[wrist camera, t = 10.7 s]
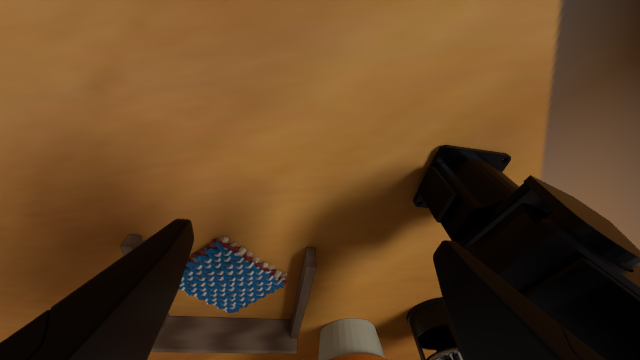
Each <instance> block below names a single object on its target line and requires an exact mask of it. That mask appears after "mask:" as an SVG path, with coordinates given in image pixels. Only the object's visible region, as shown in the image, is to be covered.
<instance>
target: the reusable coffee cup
mask: <svg viewBox="0 0 640 360" xmlns="http://www.w3.org/2000/svg"><path fill="white" fill-rule="evenodd" d="M319 360H387V359H385V356H384V353H383V350H382V347H381V344H380V341H379V338H378V335H377V332H376V329H375V327H374V325H373V324H372V323H371V322H369V321H367V320H363V319H356V318H349V319H341V320H337V321H334V322H331V323H329V324H327V325H326V326H324V327H323V328H322V330H321V332H320V345H319Z"/></svg>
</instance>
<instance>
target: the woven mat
mask: <svg viewBox="0 0 640 360" xmlns="http://www.w3.org/2000/svg"><path fill="white" fill-rule="evenodd" d="M228 240H229V238H228V237H222V238H220V239H218V238H217V239H216V240H215V241H214V240H212V241H211V244H212V245H209V244H208V245H206V247H205V248H206V249H201V251H200V252H197V253H196V254H192V258H191V259H190V258H189V259H188V261H187V265H186V268H185V271H184V274H183V277H182V280H181V283H180V286H179V289H180V290H183V291H184V290H185V291H186V292H187V293H186V295H192V296H195V297H196V296H197V297H196V299H198V298H199V300H203V301H206V302H207V303H206V304H212V305H217V309H218V308H219V309H221V308H222V309H223V310H225V311H226V312H227V311H228V313H233V312H238V311H239V309H238V308H243V307H244V306H245V307H247V306H248V304H250V303H252V301H253V303H254V302H256V301H257V300H256V299H260V298H261V296H262V298H264V297H265V296H266V295H265V294H269V293H270V292H271V293H274V291H275V290H274V289H279V288H280V287H281V288H283V287H284V284H286V283H287V281H286V280H285V279H284V277H285V276H287V275H288V274H287V273H285V274H283V275H281V274H282V272H281V271H279V270H278V269H277V271H276V270H272V269H273V268H274V267H275V266H274V265H271V266H268V262H265V261H263V262H261V263H258V261H259V260H260V258H258V257H255V258H253V259H252V258H250V256H252V254H251V253H250V252H248V253H247V254H246V253H245V252H246V251H247V250H246V249H245V248H243V247H241V248H234V247H235V246H236V245H237V244H238V242H235V243H233V244H231V245H229V244H227V243H228ZM223 247H225V248H223ZM215 248H217V249H218V250H217V249H215ZM206 255H208V256H206ZM241 256H242V257H241ZM266 267H267V268H266ZM218 268H221V269H218ZM268 273H269V274H268ZM283 283H284V284H283ZM276 284H277V285H278V286H277V285H276ZM279 286H280V287H279ZM268 290H269V291H268ZM191 291H192V292H191ZM231 309H233V310H231Z"/></svg>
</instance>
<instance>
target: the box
mask: <svg viewBox="0 0 640 360" xmlns="http://www.w3.org/2000/svg"><path fill="white" fill-rule="evenodd" d="M141 243H143V242H142V239H141V236H140V235H129V236H128V237H127V238H126V240H125V241H124V242H123V243H122V245H121V246H120V247H121V249H122V252H123V254H124V255H126V254H127V253H129V252H130V251H132V250H133V249H134V248H136V247H137V246H139V245H140V244H141ZM315 271H316V248H311V247H307V248H306V252H305V257H304V262H303V267H302V271H301V276H300V281H299V286H298V290H297V295H296V300H295V305H294V310H293V314H292V319H291V320H282V319H248V318H215V317H182V316H169V314H167V316H166V318H165V321H164V323H163V325H162V327H161V329H160V332H159V334H158V336H157V338H156V341H155V343H154V345H153V347H152V350H151V352H189V353H281V354H297V345H298V335H299V331H300V328H301V324H302V320H303V316H304V312H305V309H306V305H307V301H308V297H309V293H310V290H311V286H312V282H313V278H314V274H315Z"/></svg>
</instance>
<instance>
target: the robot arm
mask: <svg viewBox="0 0 640 360" xmlns="http://www.w3.org/2000/svg"><path fill="white" fill-rule="evenodd" d="M445 150H447V151H446V152H445V153H443V152H444V151H445ZM510 160H511V157H510V156H509V155H508V154H506V153H500V152H493V151H486V150H479V149H471V148H464V147H457V146H450V145H444V146H442V147H440V148H439V150H438V152H437V154H436V156H435V158H434V160H433V162H432V164H431V166H430V168H429V169H428V171H427V173H426V175H425V177H424V179H423V181H422V183H421V185H420V187H419V189H418V192H417V194H416V196H415V198H414V200H413V203H414V204H415V206H417V207H425V208H429V210H430V211H431V213H432V215H433V216H434V218H435V220H436V221H437V222H439V223H441V224H442V226H443V227H444V229H445V231H446V232H447V234H448V235H449V237H450V239H451V240H452V241H447V240H444V241H442V242H441V244H440V245H439V247H438V248H437V250H436V251H435V253H434V255H433V261H434V265H435V269H436V273H437V277H438V281H439V285H440V289H441V293H442V296H443V300H444V303H445V306H446V308H447V311H448V314H449V317H450V320H451V322H452V325H453V328H454V331H455V333H456V336H457V339H458V342H459V345H460V347H461V350H462V353H463V356H464V358H465V360H640V250H639V249H638V248H636V246H635V245H634V244H633V243H632V242H631V241H630V240H629V239H627V237H626V236H625V235H623V234H622V233H621V232H620V231H619V230H618V229H617V228H616V227H615V226H614V225H613V224H612V223H611V222H610V221H609V220H607V219H606V218H604V217H602V216H601V215H600V214H598V213H597V212H595V211H594V210H592V209H591V208H589V207H588V206H586V205H585V204H583V203H582V202H580V201H579V200H577V199H576V198H574V197H573V196H571V195H569V194H567V193H565V192H563V191H561V190H559V189H557V188H555V187H553V186H551V185H549V184H547V183H545V182H543V181H541V180H539V179H537V178H535V177H533V176H531V175H530V176H529V177H528V178H527V179H526V180H524V181H523V182H524V183H523V184H522V185H521V186H520V187H519V186H518V185H517V184H515V183H514V182H513V181H512V180H511V179H509V178H508V177H507V176H506V175H505V174H503V173H502V172H503V170H504V169H505V167H506V166H507V165H508V163H509V162H510ZM418 201H420V202H418ZM193 242H194V234H193V228H192V223H191V221H190V220H188V219H176V220H174V221H172V222H171V223H170V224H168V225H167V226H165V227H164V228H163V229H161V230H160V231H158V232H157V233H156V234H154V235H153V236H151V237H150V238H148V239H147V240H146V241H144V242H143V243H141V244H140V245H139V246H137V247H136V248H134V249H133V250H132V251H130V252H129V253H127V254H126V255H124V256H123V257H122V258H120V259H119V260H117V261H116V262H115V263H113V264H112V265H110V266H109V267H108V268H106V269H105V270H103V271H102V272H101V273H99V274H98V275H96V276H95V277H93V278H92V279H91V280H89V281H88V282H86V283H85V284H84V285H82V286H81V287H79V288H78V289H77V290H75V291H74V292H72V293H71V294H69V295H68V296H67V297H65V298H64V299H62V300H61V301H60V302H58V303H57V304H55V305H54V306H53V307H51V309H50V310H47V311H45V312H44V313H42V314H41V315H40V316H38V317H37V318H35V319H34V320H33V321H31V322H30V323H28V324H27V325H25V326H24V327H23V328H21V329H20V330H18V331H17V332H15V333H14V334H12V335H11V336H9V337H8V338H7V339H5V340H4V341H2V342H1V343H0V360H147V359H148V356H149V354H150V352H151V350H152V347H153V345H154V343H155V341H156V338H157V336H158V334H159V332H160V329H161V327H162V325H163V323H164V321H165V318H166V316H167V314H168V312H169V309H170V307H171V305H172V303H173V300H174V298H175V296H176V294H177V291H178V289H179V286H180V283H181V280H182V277H183V274H184V271H185V268H186V265H187V261H188V258H189V255H190V252H191V249H192V246H193Z"/></svg>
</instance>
